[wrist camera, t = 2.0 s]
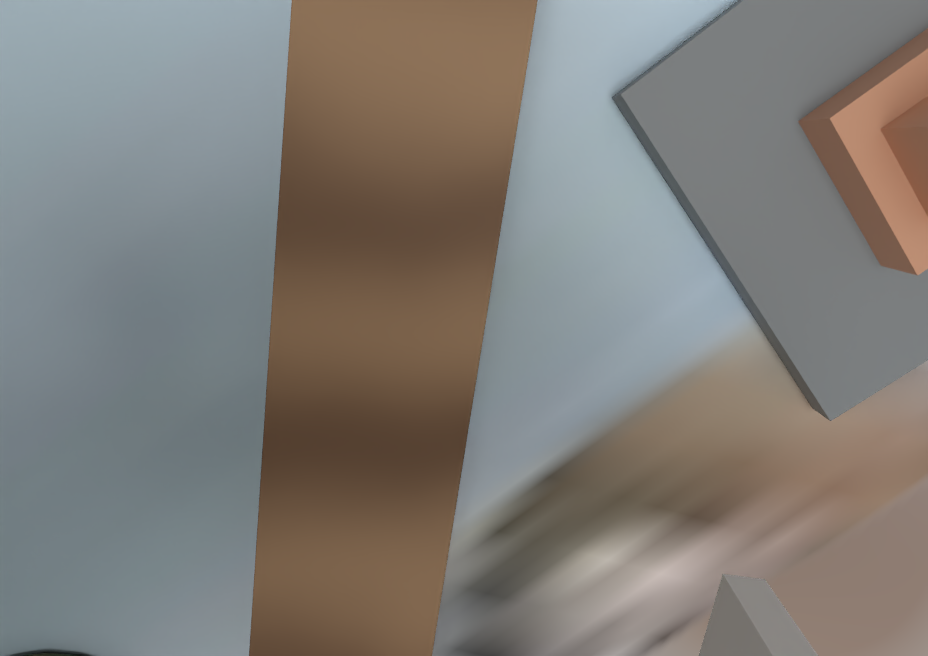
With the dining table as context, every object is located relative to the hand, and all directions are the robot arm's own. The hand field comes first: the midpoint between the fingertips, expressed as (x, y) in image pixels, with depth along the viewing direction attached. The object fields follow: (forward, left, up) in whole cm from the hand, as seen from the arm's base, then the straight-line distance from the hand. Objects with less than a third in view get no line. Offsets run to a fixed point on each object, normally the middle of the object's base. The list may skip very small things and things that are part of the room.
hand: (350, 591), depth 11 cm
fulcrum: (+13, +11, -9) cm, 19 cm away
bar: (0, 0, -10) cm, 10 cm away
